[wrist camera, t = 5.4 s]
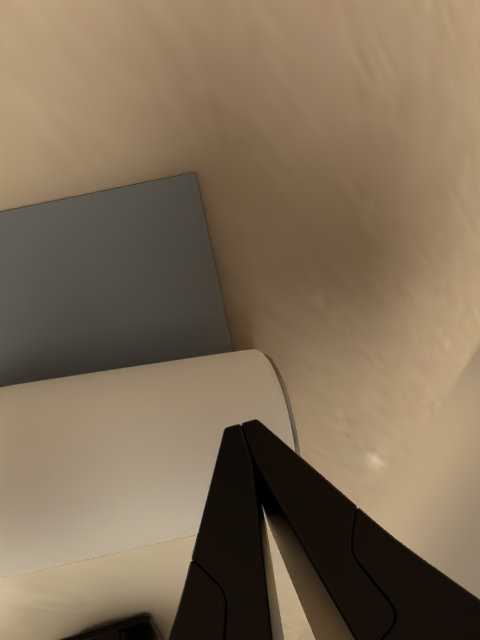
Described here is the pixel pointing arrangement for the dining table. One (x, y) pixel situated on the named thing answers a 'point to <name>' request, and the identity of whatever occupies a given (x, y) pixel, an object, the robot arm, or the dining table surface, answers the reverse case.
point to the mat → (108, 282)
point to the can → (123, 453)
